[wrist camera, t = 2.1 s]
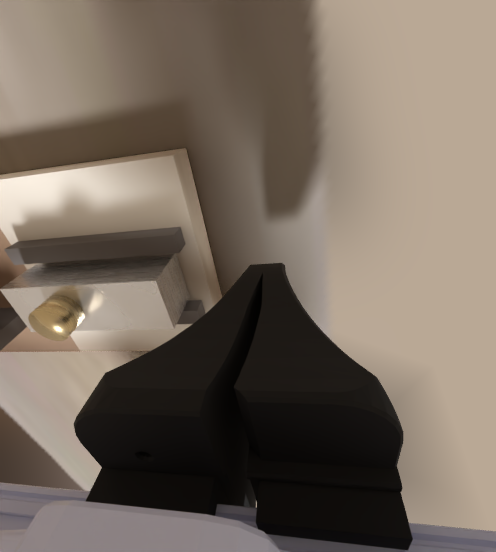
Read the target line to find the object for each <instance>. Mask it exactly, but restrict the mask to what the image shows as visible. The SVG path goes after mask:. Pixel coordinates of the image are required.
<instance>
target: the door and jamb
mask: <svg viewBox="0 0 496 552" xmlns="http://www.w3.org/2000/svg"><path fill="white" fill-rule="evenodd" d="M175 253H176V255H177V258H178V261H179V264H180V267H181V270H182V273H183V277H184V280H185V283H186V286H187V289H188V292H189V296H190V297H189V299H188V301H187V304H186V306H185V308H184V310H183V312H182V314H181V316H180V318H179V320H178V322H177V324H176V326H175V328H174V329H151V330H100V331H73V332H72V334H71V335H70V336H69V337H68V338H67V339H66V340H63V341H54V340H50V339H47V338H45V337H43V336H41V335H40V334H38V333H37V332H31V331H30V330H29V328H28V327H27V326H26V324H25V323H24V322H23V320H22V319H21V318H20V316H19V315H18V314H17V312H16V311H15V310H14V308H13V307H12V306H11V304H10V303H9V301H8V300H7V299H6V297H5V296H4V295H3V293H2V292H1V291H0V352H55V351H152V350H153V349H155V348H157V347H159V346H160V345H162V344H164V343H165V342H167V341H169V340H170V339H172V338H173V337H175V336H176V335H178V334H179V333H181V332H182V331H183V330H185V329H186V328H188V327H189V326H191V325H192V324H193V323H195V322H196V321H197V320H198V319H200V318H201V317H202V316H203V315H205V314H206V313H207V312H208V311H209V310H210V309H211V308H212V307H213V306H215V304H216V303H217V302H218V301H219V300H220V299H221V298H222V294H221V290H220V286H219V282H218V278H217V274H216V270H215V265H214V261H213V257H212V253H211V249H210V245H209V241H208V236H207V232H206V228H205V224H204V220H203V216H202V212H201V208H200V203H199V199H198V195H197V191H196V187H195V183H194V179H193V175H192V170H191V166H190V162H189V158H188V154H187V150H186V148H183V149H176V150H169V151H162V152H155V153H148V154H141V155H134V156H127V157H120V158H113V159H106V160H99V161H92V162H85V163H79V164H72V165H65V166H58V167H51V168H44V169H37V170H30V171H23V172H16V173H9V174H2V175H0V289H1V288H2V287H3V286H5V285H6V284H8V283H9V282H11V281H12V280H14V279H15V278H16V277H18V276H19V275H21V274H22V273H24V272H25V271H27V270H28V269H29V268H31V267H32V266H34V265H35V264H37V263H50V262H64V261H78V260H91V259H105V258H119V257H133V256H147V255H161V254H175Z"/></svg>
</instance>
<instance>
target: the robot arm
mask: <svg viewBox="0 0 496 552" xmlns="http://www.w3.org/2000/svg"><path fill="white" fill-rule="evenodd" d="M74 428H75V433H76V436H77V437H78V439H79V440H80V442H81V443H82V444H83V446H84V447H85V448H86V449H87V450H88V451H89V453H90V454H91V455H92V456H93V457H94V458H95V460H96V461H97V462H98V463H99V464H100V465H101V467H102V469H101V471H100V473H99V475H98V477H97V479H96V481H95V483H94V485H93V487H92V489H91V491H81V490H70V489H60V488H49V487H39V486H30V485H20V484H9V483H0V552H496V532H495V531H486V530H475V529H465V528H455V527H445V526H435V525H425V524H414V523H409V522H408V519H407V515H406V511H405V508H404V504H403V500H402V497H401V493H400V492H401V491H402V483H401V480H400V476H399V472H398V469H397V463H398V459H399V456H400V452H401V448H402V444H403V430H402V427H401V424H400V421H399V419H398V416H397V414H396V412H395V410H394V407H393V405H392V403H391V401H390V399H389V398H388V396H387V394H386V392H385V390H384V389H383V387H382V385H381V383H380V382H379V380H378V379H377V377H376V376H374V375H373V374H372V373H370V372H369V371H367V370H366V369H365V368H363V367H362V366H360V365H359V364H358V363H356V362H355V361H354V360H352V359H351V358H350V357H349V356H348V355H347V354H345V353H344V352H343V351H342V350H341V349H340V348H339V347H337V346H336V345H335V344H334V343H333V342H332V341H331V340H330V339H329V338H328V337H327V336H326V335H325V334H324V333H323V332H322V331H321V329H320V328H319V327H318V326H317V325H316V324H315V323H314V321H313V320H312V319H311V318H310V316H309V315H308V314H307V312H306V311H305V309H304V308H303V307H302V305H301V303H300V302H299V300H298V299H297V297H296V295H295V293H294V291H293V289H292V287H291V285H290V283H289V281H288V278H287V276H286V272H285V265H284V264H282V263H274V264H257V265H250V266H249V267H248V268H247V270H246V271H245V272H244V273H243V274H242V276H241V277H240V278H239V279H238V281H237V282H236V283H235V284H234V285H233V286H232V287H231V289H230V290H229V291H228V292H227V293H226V294H225V295H224V296H223V297H222V298H221V299H220V300H219V301H218V302H217V303H216V304H215V306H213V307H212V308H211V309H210V310H209V311H208V312H207V313H206V314H205V315H203V316H202V317H201V318H200V319H198V320H197V321H196V322H195V323H193V324H192V325H191V326H189V327H188V328H186V329H185V330H183V331H182V332H181V333H179V334H178V335H176V336H175V337H173V338H172V339H170V340H169V341H167V342H165V343H164V344H162V345H160V346H159V347H157V348H155V349H153V350H152V351H150V352H148V353H146V354H144V355H142V356H140V357H139V358H137V359H134V360H132V361H130V362H128V363H126V364H124V365H122V366H120V367H118V368H116V369H113V370H111V371H109V372H107V373H105V375H104V376H103V377H102V379H101V380H100V382H99V383H98V385H97V387H96V388H95V390H94V391H93V393H92V394H91V396H90V397H89V399H88V400H87V402H86V403H85V405H84V406H83V408H82V409H81V411H80V412H79V414H78V416H77V417H76V420H75V422H74ZM256 501H257V508H256Z"/></svg>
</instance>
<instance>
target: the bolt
mask: <svg viewBox="0 0 496 552" xmlns="http://www.w3.org/2000/svg"><path fill="white" fill-rule="evenodd" d="M0 291H1V292H2V293H3V295H4V296H5V297H6V299H7V300H8V301H9V303H10V304H11V306H12V307H13V308H14V310H15V311H16V312H17V314H18V315H19V316H20V318H21V319H22V320H23V322H24V323H25V324H26V326H27V327H28V328H29V330H30V331H31V332H37V333H38V334H40V335H41V336H43V337H45V338H47V339H50V340H54V341H63V340H66V339H67V338H68V337H69V336H70V335H71V334H72V332H73V331H100V330H151V329H174V328H175V326H176V324H177V322H178V320H179V318H180V316H181V314H182V312H183V310H184V308H185V306H186V304H187V301H188V299H189V297H190V296H189V292H188V289H187V286H186V283H185V280H184V277H183V273H182V270H181V267H180V264H179V261H178V258H177V255H176V253H175V254H161V255H147V256H133V257H119V258H105V259H91V260H78V261H64V262H50V263H37V264H35V265H34V266H32V267H31V268H29V269H28V270H27V271H25V272H24V273H22V274H21V275H19V276H18V277H16V278H15V279H14V280H12V281H11V282H9V283H8V284H6V285H5V286H3V287H2V288H1V289H0Z"/></svg>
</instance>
